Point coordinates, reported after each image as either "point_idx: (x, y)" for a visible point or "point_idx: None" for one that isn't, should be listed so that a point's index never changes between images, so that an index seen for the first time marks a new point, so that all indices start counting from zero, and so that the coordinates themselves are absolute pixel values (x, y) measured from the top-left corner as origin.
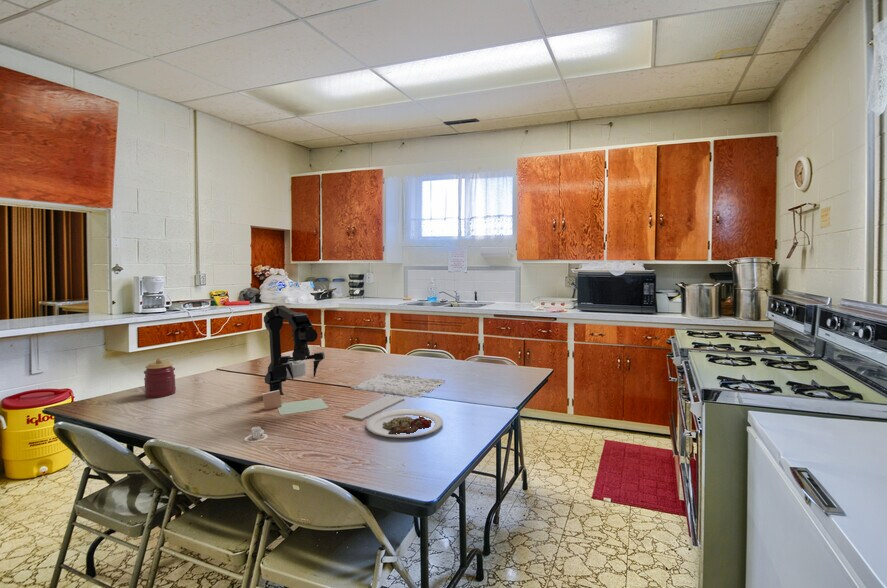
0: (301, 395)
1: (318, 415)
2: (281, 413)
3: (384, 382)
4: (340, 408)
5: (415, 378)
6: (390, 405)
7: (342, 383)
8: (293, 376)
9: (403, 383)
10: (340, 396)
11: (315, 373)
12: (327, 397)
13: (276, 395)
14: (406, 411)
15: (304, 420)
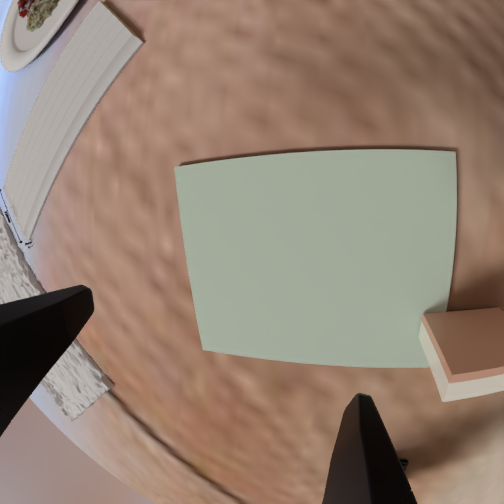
0: (284, 432)
1: (237, 74)
2: (448, 177)
3: None
4: (132, 157)
5: None
6: (23, 133)
7: (145, 441)
8: (341, 433)
9: None
10: (133, 332)
11: (50, 298)
12: (179, 351)
13: (466, 353)
14: (16, 62)
15: (318, 20)
